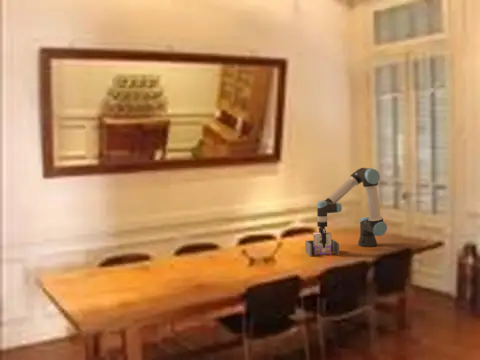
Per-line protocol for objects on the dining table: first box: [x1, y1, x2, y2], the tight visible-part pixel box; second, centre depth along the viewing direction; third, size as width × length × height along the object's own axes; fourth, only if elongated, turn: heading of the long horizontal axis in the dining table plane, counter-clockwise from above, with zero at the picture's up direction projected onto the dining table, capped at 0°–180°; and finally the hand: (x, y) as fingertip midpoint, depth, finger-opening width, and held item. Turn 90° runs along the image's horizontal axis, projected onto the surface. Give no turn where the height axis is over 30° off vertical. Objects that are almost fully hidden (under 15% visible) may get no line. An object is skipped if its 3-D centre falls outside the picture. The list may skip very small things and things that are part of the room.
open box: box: [304, 238, 340, 258], centre depth 475 cm, size 22×17×9 cm
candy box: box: [312, 232, 333, 256], centre depth 473 cm, size 14×6×16 cm, turn 84°
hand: (322, 250), depth 474 cm, fingers closed on candy box, 6 cm apart
